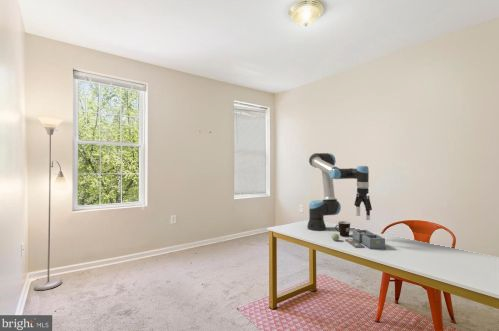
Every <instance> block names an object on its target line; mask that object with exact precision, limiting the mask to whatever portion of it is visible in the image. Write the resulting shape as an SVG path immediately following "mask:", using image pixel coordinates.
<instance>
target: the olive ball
mask: <svg viewBox="0 0 499 331" xmlns="http://www.w3.org/2000/svg"><path fill="white" fill-rule="evenodd" d="M331 239H332V241H339V240H340V234H338V233H333V234H331Z"/></svg>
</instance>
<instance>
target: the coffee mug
mask: <svg viewBox="0 0 499 331" xmlns="http://www.w3.org/2000/svg"><path fill="white" fill-rule="evenodd" d="M337 223H338V224H336V225H335V230H336V231H338V232H339V237H343V238H348V237H349V236H350V229H351V222H349V221H346V220H343V221H341V220H340V221H337ZM337 227H338V229H337Z"/></svg>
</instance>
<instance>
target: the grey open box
mask: <svg viewBox="0 0 499 331" xmlns="http://www.w3.org/2000/svg"><path fill="white" fill-rule="evenodd" d="M361 244H362V245H363V246H365V247H366V248H368V249H369V250H380V249H381V250H385V249H386V238H385V237H383V236H381V235H378V234H375V233H374V234H367V235H362V243H361Z"/></svg>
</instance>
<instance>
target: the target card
mask: <svg viewBox="0 0 499 331" xmlns="http://www.w3.org/2000/svg"><path fill="white" fill-rule="evenodd" d="M344 241H345V242H346V243H348V244H349V245H350V246H352V247H354V248H355V249H357V248H360V249H362V248H365V247H366V246H364V245H363V244H362V243H359V242H357V241H355V240H354V239H353V238H345V239H344Z"/></svg>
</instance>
